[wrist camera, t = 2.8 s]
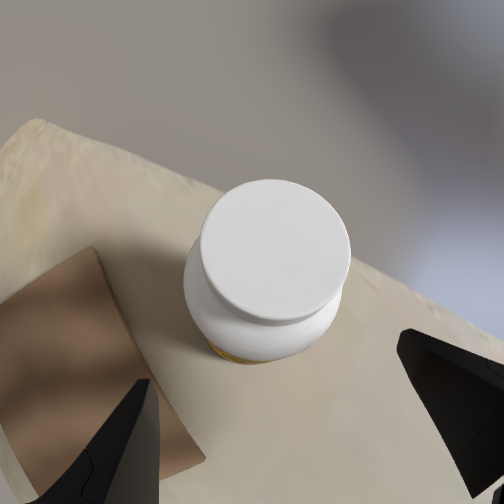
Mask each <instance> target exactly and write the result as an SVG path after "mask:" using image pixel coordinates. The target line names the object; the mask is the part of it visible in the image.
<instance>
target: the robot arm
mask: <svg viewBox="0 0 504 504" xmlns="http://www.w3.org/2000/svg"><path fill="white" fill-rule="evenodd" d="M397 353H398V356H399V358H400V360H401V362H402V364H403V366H404V368H405V371H406V373H407V375H408V377H409V379H410V381H411V383H412V385H413V387H414V389H415V390H416V392H417V394H418V395H419V397H420V399H421V401H422V402H423V404H424V406H425V408H426V409H427V411H428V413H429V415H430V417H431V418H432V420H433V422H434V424H435V426H436V427H437V429H438V431H439V433H440V435H441V437H442V438H443V440H444V442H445V444H446V446H447V448H448V450H449V452H450V454H451V456H452V458H453V460H454V461H455V464H456V466H457V468H458V470H459V472H460V474H461V476H462V478H463V480H464V482H465V485H466V487H467V489H468V491H469V493H470V495H471V497H472V499H474V498H475V497H477V496H478V495H479V494H481V493H482V492H483V491H484V490H486V489H487V488H488V487H490V486H491V485H492V484H493V483H495V482H496V481H497V480H498V479H499V478H500V477H502V476H503V477H504V365H503V364H500V363H497V362H495V361H492V360H489V359H487V358H484V357H482V356H479V355H477V354H474V353H472V352H469V351H467V350H464V349H462V348H459V347H456V346H454V345H451V344H449V343H446V342H444V341H441V340H439V339H436V338H434V337H431V336H429V335H426V334H424V333H422V332H419V331H417V330H414V329H411V328H410V329H406V330H403V331H402V332H401V333H400V337H399V340H398V344H397ZM160 443H161V435H160V419H159V399H158V394H157V392H156V389H155V387H154V385H153V382H152V380H151V379H150V378H139V379H138V380H137V381H136V382H135V383H134V385H133V386H132V387H131V388H130V390H129V391H128V392H127V394H126V395H125V396H124V397H123V399H122V400H121V401H120V403H119V404H118V405H117V406H116V408H115V409H114V410H113V412H112V413H111V414H110V415H109V417H108V418H107V419H106V421H105V422H104V423H103V425H102V426H101V427H100V428H99V430H98V431H97V432H96V434H95V435H94V436H93V438H92V439H91V440H90V442H89V443H88V444H87V445H86V448H84V449H83V451H82V452H81V453H80V454H79V456H78V457H77V458H76V459H75V461H74V462H73V463H72V464H71V466H70V467H69V468H68V469H67V470H66V471H65V472H64V473H63V474H62V475H61V476H60V477H59V478H58V479H57V480H56V481H55V482H54V483H53V485H52V486H51V487H50V488H49V489H48V490H47V491H46V492H45V493H44V494H43V495H41V496H40V497H39V498H38V499H36V500H34V501H32V502H30V503H26V504H159V465H160ZM492 504H504V483H503V484H502V485H501V486H500V487H498V488H497V489H496V490H495V491H494V495H493V500H492Z"/></svg>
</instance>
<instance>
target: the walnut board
mask: <svg viewBox="0 0 504 504" xmlns="http://www.w3.org/2000/svg"><path fill="white" fill-rule="evenodd" d="M139 378H150V379H151V380H152V382H153V385H154V387H155V389H156V392H157V394H158V399H159V419H160V435H161V443H160V465H159V481H160V480H162V479H165V478H167V477H170V476H172V475H175V474H177V473H179V472H182V471H184V470H186V469H189V468H191V467H193V466H195V465H197V464H200V463H202V462H204V461H205V458H206V457H205V455H204V454H203V453H202V451H201V450H200V448H199V447H198V446H197V444H196V443H195V441H194V440H193V438H192V437H191V436H190V434H189V433H188V431H187V430H186V428H185V427H184V425H183V424H182V422H181V421H180V419H179V418H178V416H177V414H176V413H175V411H174V410H173V408H172V406H171V405H170V403H169V402H168V400H167V398H166V397H165V395H164V393H163V392H162V390H161V388H160V386H159V385H158V383H157V381H156V379H155V378H154V376H153V374H152V372H151V370H150V369H149V367H148V365H147V363H146V361H145V359H144V357H143V356H142V354H141V352H140V350H139V348H138V346H137V344H136V342H135V340H134V338H133V336H132V334H131V332H130V330H129V328H128V325H127V323H126V321H125V319H124V317H123V315H122V312H121V310H120V308H119V306H118V303H117V301H116V299H115V297H114V294H113V292H112V289H111V287H110V285H109V282H108V280H107V277H106V275H105V272H104V269H103V267H102V264H101V262H100V259H99V256H98V253H97V251H96V249H95V248H94V247H93V246H92V245H91V246H90V247H88V248H86V249H84V250H83V251H81V252H79V253H78V254H76V255H75V256H73V257H71V258H70V259H68V260H66V261H65V262H63V263H62V264H60V265H58V266H57V267H55V268H54V269H52V270H51V271H49V272H47V273H46V274H44V275H43V276H41V277H40V278H38V279H37V280H35V281H34V282H32V283H31V284H29V285H28V286H26V287H25V288H23V289H22V290H21V291H19V292H18V293H16V294H15V295H13V296H12V297H11V298H9V299H8V300H6V301H5V302H4V303H2V304H1V305H0V423H1V425H2V427H3V430H4V432H5V434H6V436H7V439H8V441H9V443H10V445H11V447H12V449H13V451H14V453H15V455H16V457H17V459H18V461H19V463H20V465H21V467H22V469H23V470H24V472H25V474H26V476H27V477H28V479H29V481H30V482H31V484H32V486H33V487H34V489H35V491H36V492H37V494H38V495H39V497H40V496H41V495H43V494H44V493H45V492H46V491H47V490H48V489H49V488H50V487H51V486H52V485H53V483H54V482H55V481H56V480H57V479H58V478H59V477H60V476H61V475H62V474H63V473H64V472H65V471H66V470H67V469H68V468H69V467H70V466H71V464H72V463H73V462H74V461H75V459H76V458H77V457H78V456H79V454H80V453H81V452H82V451H83V449H84V448H86V445H87V444H88V443H89V442H90V440H91V439H92V438H93V436H94V435H95V434H96V432H97V431H98V430H99V428H100V427H101V426H102V425H103V423H104V422H105V421H106V419H107V418H108V417H109V415H110V414H111V413H112V412H113V410H114V409H115V408H116V406H117V405H118V404H119V403H120V401H121V400H122V399H123V397H124V396H125V395H126V394H127V392H128V391H129V390H130V388H131V387H132V386H133V385H134V383H135V382H136V381H137V380H138V379H139Z"/></svg>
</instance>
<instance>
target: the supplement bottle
mask: <svg viewBox="0 0 504 504" xmlns="http://www.w3.org/2000/svg"><path fill="white" fill-rule="evenodd" d="M350 258H351V251H350V242H349V237H348V234H347V231H346V228H345V226H344V224H343V222H342V220H341V218H340V216H339V215H338V214H337V212H336V211H335V210H334V209H333V207H332V206H331V205H330V204H329V203H328V202H327V201H326V200H325V199H323V198H322V197H321V196H320V195H318V194H317V193H315V192H314V191H312V190H310V189H308V188H306V187H304V186H301V185H299V184H296V183H292V182H289V181H284V180H273V179H267V180H257V181H252V182H247V183H245V184H242V185H240V186H238V187H235V188H234V189H232V190H230V191H229V192H227V193H226V194H224V195H223V196H222V197H221V198H220V199H219V200H218V201H217V202H216V203H215V204H214V205H213V207H212V208H211V209H210V211H209V213H208V214H207V216H206V218H205V220H204V222H203V225H202V229H201V232H200V236H199V237H198V238H197V240H196V241H195V243H194V244H193V246H192V248H191V250H190V252H189V255H188V258H187V261H186V265H185V270H184V279H183V286H184V295H185V300H186V303H187V306H188V309H189V312H190V314H191V316H192V318H193V320H194V321H195V323H196V325H197V326H198V328H199V329H200V331H201V332H202V334H203V335H204V337H205V338H206V340H207V341H208V343H209V344H210V346H211V347H212V348H213V349H214V350H215V351H216V352H217V353H218V354H220V355H221V356H222V357H224V358H225V359H227V360H229V361H232V362H235V363H238V364H243V365H257V364H263V363H267V362H271V361H275V360H280V359H283V358H287V357H290V356H293V355H295V354H297V353H299V352H301V351H303V350H305V349H307V348H308V347H310V346H311V345H312V344H314V343H315V342H316V341H317V340H318V339H319V338H320V337H321V336H322V335H323V334H324V333H325V332H326V330H327V329H328V327H329V326H330V324H331V323H332V321H333V319H334V317H335V315H336V313H337V310H338V307H339V304H340V299H341V294H342V285H343V284H344V282H345V279H346V277H347V274H348V270H349V266H350Z"/></svg>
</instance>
